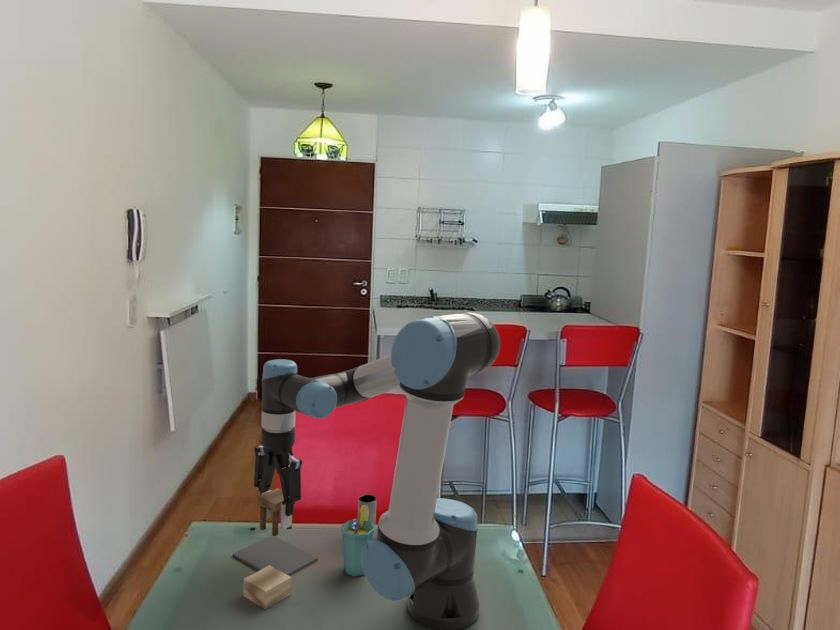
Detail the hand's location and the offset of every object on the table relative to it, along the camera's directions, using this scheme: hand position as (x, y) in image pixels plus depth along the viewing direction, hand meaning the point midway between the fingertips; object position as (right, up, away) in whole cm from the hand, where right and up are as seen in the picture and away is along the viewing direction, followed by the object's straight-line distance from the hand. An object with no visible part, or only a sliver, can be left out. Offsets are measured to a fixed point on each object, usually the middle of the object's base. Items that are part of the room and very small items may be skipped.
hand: (276, 522), depth 150 cm
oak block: (+1, -11, -13) cm, 17 cm away
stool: (0, -1, 0) cm, 1 cm away
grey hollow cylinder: (+20, -8, +14) cm, 25 cm away
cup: (+19, -11, -3) cm, 22 cm away
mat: (-1, -9, +1) cm, 9 cm away
